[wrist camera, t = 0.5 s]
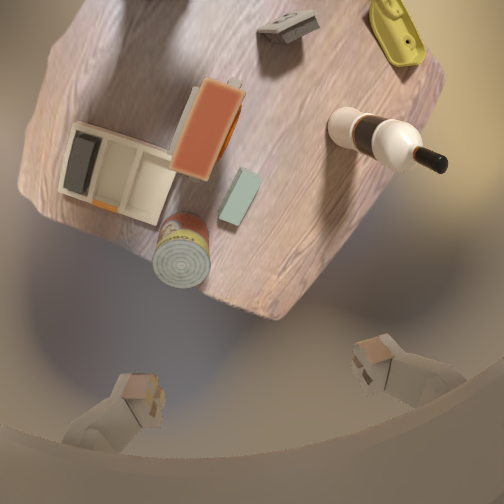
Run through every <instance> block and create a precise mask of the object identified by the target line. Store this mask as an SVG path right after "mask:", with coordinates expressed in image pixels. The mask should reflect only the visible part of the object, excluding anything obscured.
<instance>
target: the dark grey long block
mask: <svg viewBox="0 0 504 504" xmlns="http://www.w3.org/2000/svg"><path fill="white" fill-rule="evenodd" d="M101 140H102V139H99V138H96V137H93V136H90V135H86V134H82V135H79V136H77V137H76V138H75V141H74V145H73V149H72V153H71V157H70V162H69V166H68V171H67V175H66V181H65V186H64V188H66V189H69V190H72V191H75V192H78V193H81V194H82V193H83V192H84V191H85V190H86V189H87V188H88V187H89V183H90V179H91V175H92V171H93V167H94V163H95V160H96V156H97V153H98V149H99V146H100V143H101Z"/></svg>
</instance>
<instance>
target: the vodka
mask: <svg viewBox="0 0 504 504" xmlns="http://www.w3.org/2000/svg"><path fill="white" fill-rule="evenodd" d="M328 132H329V136H330V138H331V139H332V141H333V142H334V143H335V144H337V145H338V146H340V147H343V148H347V149H353V150H356V151H357V152H358V153H360V154H362V155H367V156H369V157H371V158H373V159H375V160H377V161H378V162H380V163H381V164H382V165H384V166H387V167H388V168H390V169H391V170H393V171H396V172H406V171H409V170H411V169H413V168H414V167H415V166H416V165H417V164H418V163H419V164H421V165H423V166H426V167H428V168H430V169H431V170H433V171H435V172H437V173H439V174H443V173H445V171H446V170H447V168H448V160H447V158H446V157H445V156H443V155H440V154H438V153H436V152H433V151H431V150H429V149H426V148H424V147H423V143H422V139H421V136H420V134H419V132H418V131H417V130H416V129H415V128H414V127H413V126H412V125H410V124H409V123H406V122H402V121H398V120H395V119H387V118H383V117H379V116H376V115H374V114H371V113H363V112H360V111H359V110H357V109H354V108H351V107H342V108H339V109H337V110H336V111H334V112H333V114H332V115H331V116H330V118H329V121H328Z"/></svg>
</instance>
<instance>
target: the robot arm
mask: <svg viewBox="0 0 504 504" xmlns="http://www.w3.org/2000/svg"><path fill="white" fill-rule="evenodd" d="M353 352H354V353H355V356H354V357H353V359H352V370H353V374H354V376H355V378H356V379H357V380H359V381H361V388H362V390H363V391H364V393H365V395H366V396H370V395H373V394H377V393H380V392H383V391H385V392H386V393H388V394H390V395H391V396H393V397H395V398H397V399H399V400H400V401H402V402H404V403H406V404H408V405H410V406H411V407H413V408H415V409H413V410H411V411H409V412H407V413H404V414H402V415H400V416H397V417H395V418H392V419H390V420H387V421H385V422H382V423H379V424H377V425H374V426H371V427H368V428H366V429H362V430H360V431H356V432H353V433H350V434H347V435H344V436H340V437H336V438H333V439H329V440H325V441H321V442H317V443H313V444H309V445H305V446H300V447H295V448H290V449H285V450H279V451H272V452H266V453H259V454H251V455H242V456H231V457H217V458H157V457H142V456H132V455H122V454H119V453H120V452H121V451H122V450H123V449H124V448H125V447H126V445H128V443H129V442H130V441H131V440H132V439H133V438H134V437H135V436H136V435H137V434H138V433H139V431H140V430H141V429H142V428H160V427H161V423H162V418H163V416H162V414H161V411H162V410H163V409H164V408H165V395H164V391H163V389H162V387H160V386H159V385H157V384H158V378H157V376H156V374H154V373H122V374H120V376H119V378H118V380H117V383H116V385H115V387H114V389H113V392H112V394H111V396H110V398H106V399H105V400H103V401H102V402H100V403H99V404H98V405H96V406H95V407H93V408H92V409H91V410H89V411H88V412H86V413H85V414H84V415H82V416H81V417H79V418H78V419H76V420H75V421H74V422H72V423H71V424H70V425H69V427H68V429H67V431H66V433H65V435H64V438H63V440H62V442H61V443H59V442H56V441H52V440H49V439H45V438H42V437H39V436H35V435H33V434H29V433H26V432H24V431H21V430H18V429H16V428H13V427H11V426H8V425H5V424H0V504H504V357H502V358H501V359H500V360H498V361H497V362H496V363H494V364H493V365H491V366H490V367H488V368H487V369H485V370H484V371H482V372H481V373H479V374H478V375H476V376H475V377H473V378H472V379H470V380H469V381H467V380H466V379H465V378H464V377H463V376H462V375H461V374H460V373H459V372H458V371H457V369H456V368H455V367H454V366H451V365H448V364H444V363H441V362H438V361H434V360H431V359H428V358H425V357H421V356H418V355H415V354H411V353H405V352H404V351H403V350H402V349H401V348H400V347H399V345H397V343H396V342H395V341H394V340H393V339H392V338H391V337H390V336H389V335H388V334H383V335H380V336H377V337H374V338H371V339H368V340H364V341H360V342H357V343H355V344H354V346H353Z"/></svg>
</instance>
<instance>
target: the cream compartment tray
mask: <svg viewBox="0 0 504 504" xmlns="http://www.w3.org/2000/svg"><path fill="white" fill-rule="evenodd" d="M82 134H86V135H90V136H93V137H96V138H99V139H102V140H101V143H100V146H99V149H98V153H97V156H96V160H95V163H94V167H93V171H92V175H91V179H90V183H89V187H88V188H87V189H86V190H85V191H84V192H83V193H82V194H81V193H78V192H75V191H72V190H69V189H66V188H64V186H65V181H66V175H67V171H68V166H69V162H70V157H71V153H72V149H73V145H74V141H75V138H76V137H77V136H79V135H82ZM167 151H168V150H167V149H164V148H161V147H159V146H156V145H153V144H150V143H147V142H144V141H141V140H139V139H136V138H133V137H130V136H127V135H124V134H120V133H117V132H114V131H111V130H108V129H105V128H101V127H98V126H95V125H91V124H88V123H85V122H81V121H77V122H74V123H73V125H72V128H71V132H70V136H69V139H68V143H67V147H66V151H65V156H64V160H63V165H62V170H61V175H60V180H59V186H58V192H60V193H62V194H65V195H68V196H71V197H74V198H77V199H79V200H82V201H85V202H88V203H91V204H92V205H95V206H97V207H100V208H103V209H106V210H109V211H112V212H115V213H120V214H123V215H125V216H128V217H131V218H134V219H137V220H140V221H143V222H146V223H149V224H152V225H154V226H156V225H157V222H158V219H159V216H160V214H161V211H162V208H163V205H164V203H165V200H166V197H167V195H168V192H169V190H170V187H171V184H172V182H173V179H174V177H175V174H176V172H175V171H172V170H169V168H168V167H169V164H170V161H171V159H172V156H171V155H167Z"/></svg>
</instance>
